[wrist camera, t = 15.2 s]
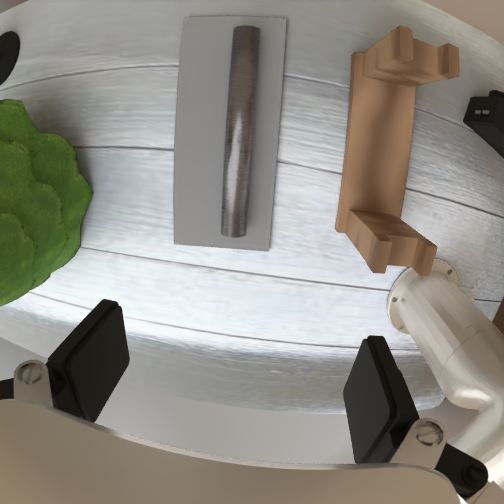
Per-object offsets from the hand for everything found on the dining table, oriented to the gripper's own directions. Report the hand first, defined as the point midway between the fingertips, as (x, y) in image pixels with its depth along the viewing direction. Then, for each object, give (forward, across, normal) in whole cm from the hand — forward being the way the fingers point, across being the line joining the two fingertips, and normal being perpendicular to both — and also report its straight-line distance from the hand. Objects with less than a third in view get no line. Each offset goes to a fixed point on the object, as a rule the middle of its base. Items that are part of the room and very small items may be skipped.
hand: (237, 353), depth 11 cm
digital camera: (+28, -31, -17) cm, 45 cm away
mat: (+27, +6, -8) cm, 29 cm away
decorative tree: (+26, +35, 0) cm, 44 cm away
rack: (+27, -12, -9) cm, 31 cm away
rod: (+25, +5, -8) cm, 27 cm away
